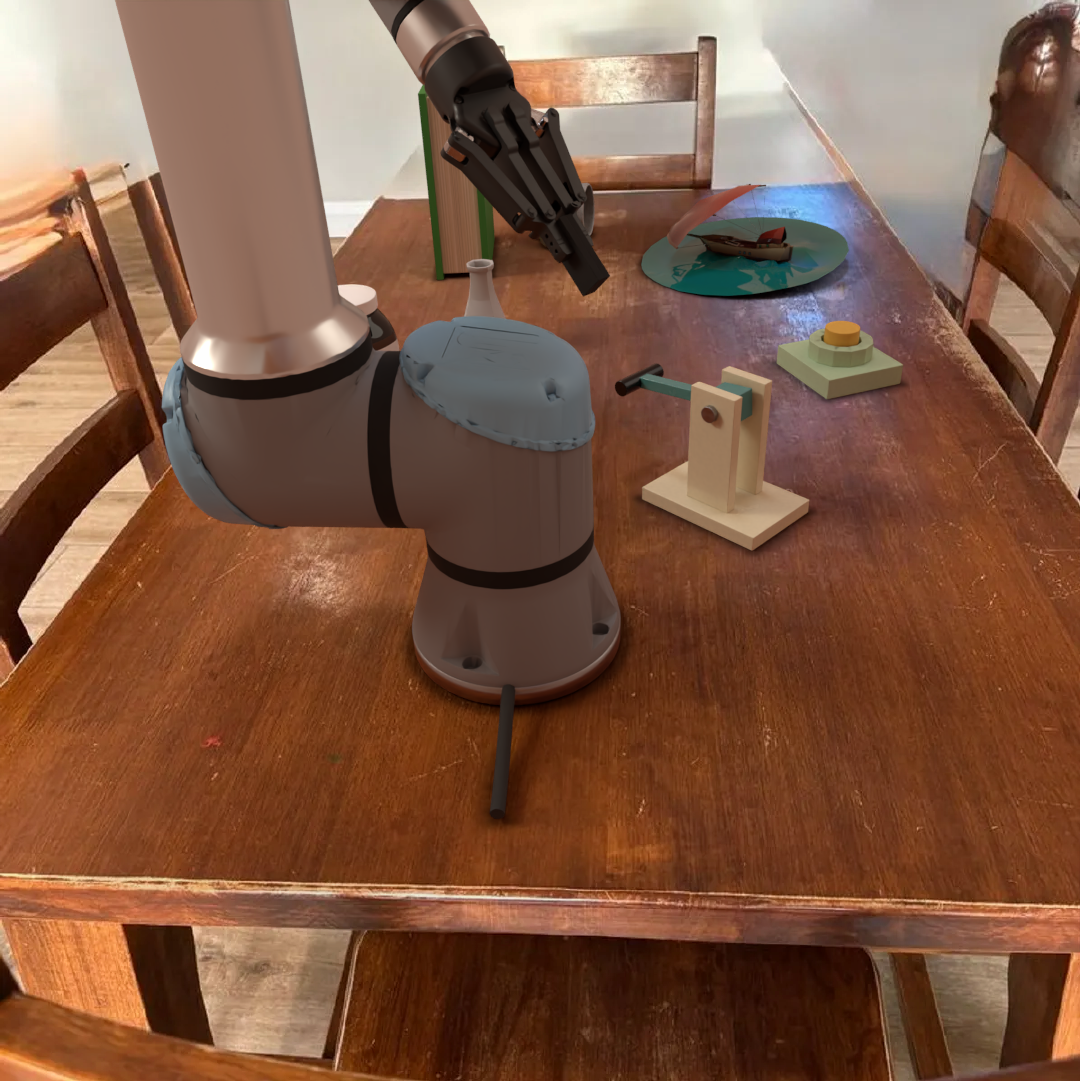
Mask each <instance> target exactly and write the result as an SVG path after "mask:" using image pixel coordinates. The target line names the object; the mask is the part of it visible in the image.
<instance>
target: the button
mask: <svg viewBox="0 0 1080 1081" xmlns="http://www.w3.org/2000/svg"><path fill="white" fill-rule="evenodd" d="M824 328H825V333H824V341H823V342H825V343H826V344H828V345H832V346H836V347H850V346H855V345H858V343H859V336H860V331H861V326H860V325H859V324H857V323H855V322H852V321H849V320H834V321H830V322H828V323H826V324H825V326H824Z"/></svg>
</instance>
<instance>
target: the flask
mask: <svg viewBox="0 0 1080 1081" xmlns="http://www.w3.org/2000/svg"><path fill="white" fill-rule="evenodd" d="M466 265H467V270H468V272H467V273H469V290H468V297H467V301H466V302H467V303H466V305H465V310H464V315H463V317H465V316H485V317H496V318H504V319H507V317H506V315H505V312H504V310H503V308H502V306H501V303H500V301H499V298H498V296H497V293H496V290H495V286H494V283H493V270H494V267H495V265H494V260H493V259H492V260H487V259H476V260H471V261H470V262H468V263H466Z"/></svg>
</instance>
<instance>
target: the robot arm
mask: <svg viewBox="0 0 1080 1081" xmlns="http://www.w3.org/2000/svg"><path fill="white" fill-rule="evenodd" d="M114 2H115V6H116V10H117V13H118V18H119V21H120V25H121V30H122V32H123V36H124V37H123V38H124V41H125V44H126V49H127V52H128V56H129V60H130V63H131V67H132V70H133V75H134V78H135V83H136V86H137V90H138V94H139V98H140V101H141V104H142V105H141V106H142V109H143V114H144V117H145V121H146V125H147V129H148V132H149V137H150V141H151V144H152V146H153V152H154V155H155V159H156V163H157V166H158V171H159V175H160V178H161V182H162V186H163V190H164V194H165V198H166V201H167V205H168V209H169V212H170V216H171V220H172V225H173V229H174V232H175V236H176V240H177V243H178V247H179V248H178V249H179V252H180V254H181V258H182V263H183V266H184V270H185V275H186V278H187V282H188V286H189V289H190V293H191V297H192V301H193V305H194V308H195V312H196V319H195V320H194V322H193V323H192V324H191V326H189V329H188V330H187V331H186V332H185V334H184V335H183V337H182V338H181V340H180V344H179V353H180V357H179V358H178V359H177V360H176V361H175V363H174V364H173V365H172V366H171V368H170V370H169V371H168V374H167V376H166V379H165V381H164V386H163V390H162V396H161V398H162V399H161V409H162V411H163V412H164V414H165V416H166V421H165V423H163V424H162V434H163V439H164V440H163V441H164V445H165V448H166V453H167V456H168V459H169V462H170V465H171V467H172V470H173V473H174V476H176V479H177V481H178V483H179V484H180V486H181V488H182V489H183V491H184V493H185V494H186V496H187V497H188V499H189V500H190V501H191V502H192V503H193V504H194V505H195V506H196V507H197V508H198V509H199V510H200V511H202V512H203V513H204V514H205V515H207V516H208V517H210V518H212V519H215V520H217V521H220V522H222V523H226V524H231V525H245V526H246V525H248V526H255V527H257V528H265V529H266V528H267V529H269V530H283V529H287V528H291V527H292V528H294V527H295V528H354V529H355V528H357V529H358V528H360V529H361V528H363V529H365V528H366V529H367V528H368V529H413V530H414V529H418V530H419V529H420V530H423V532H424V535H425V536H424V537H425V542H426V550H427V551H426V552H427V559H426V563H425V567H424V571H423V575H422V579H421V582H420V586H419V591H418V595H417V599H416V602H415V606H414V610H413V616H412V623H411V625H412V626H411V634H412V640H413V646H414V647H413V648H414V653H415V656H416V661H417V662H418V664H419V666H420V668H421V669H422V670H423V672H424V673H425V674H426V675H427V677H428V678H429V679H430V680H432V682H433V683H435V684H436V685H437V686H439V687H440V688H442V689H443V690H445V691H446V692H449V693H450V694H453V695H455V696H457V697H460V698H462V699H463V698H464V699H466V700H469V701H471V702H476V703H481V704H482V703H483V704H486V705H487V704H489V705H496V706H499V715H498V716H499V717H498V728H497V738H496V751H495V761H494V772H493V782H492V789H491V799H490V806H489V816H490V818H493V819H495V820H501V819H504V818H505V815H506V809H507V808H506V807H507V798H508V790H509V789H508V788H509V778H510V777H509V775H510V767H511V766H510V764H511V752H512V739H513V726H514V713H515V712H514V711H515V706H523V705H533V704H534V705H535V704H539V703H544V702H548V701H553V700H556V699H559V698H562V697H565V696H567V695H570V694H572V693H574V692H577V691H578V690H580V689H583V688H584V687H586V686H587V685H588V684H591V683H592V682H593V681H594V680H596V679H597V678H598V677H600V675H601V674H603V673H604V672H605V671H606V670H607V668H609V666H610V664H611V663H612V662H613V661H614V659H615V657H616V656H617V654H618V653H617V652H618V650H619V647H620V643H621V631H622V630H621V629H622V625H621V623H622V622H621V618H622V617H621V610H620V606H619V603H618V598H617V596H616V594H615V592H614V591H615V590H614V589H613V586H612V584H611V581H610V579H609V577H608V574H607V572H606V570H605V567H604V565H603V562H602V560H601V557H600V555H599V552H598V550H597V547H596V545H595V516H594V482H593V478H594V477H593V446H592V438H593V437H594V433H595V429H596V415H595V413H594V411H593V409H592V398H591V397H592V396H591V394H592V393H591V382H590V374H589V370H588V367H587V364H586V362H585V361H584V359H583V357H582V356H581V354H580V353H579V351H577V349H576V348H575V347H574V346H573V345H572V344H571V343H569V342H568V341H566V340H565V339H563V338H562V337H559V336H557V335H556V334H555V333H554V332H552V331H550V330H548V329H545V328H544V327H540V326H537V325H534V324H532V323H527V322H525V321H521V320H515V319H511V318H506V319H504V318H496V317H485V316H465V317H464V316H455V317H453V318H452V319H451V320H450V321H445V320H441V319H440V320H435V321H431V322H429V323H425V324H423V325H421V326H419V327H417V328H415V330H413V331H412V332H411V333H410V334H409V335H408V336H407V337H406V339H405V340H404V343H403V345H402V347H401V350H399V351H375V350H374V348H373V345H372V339H371V332H370V326H369V322H368V319H367V316H366V315H365V313H364V312H363V311H362V310H361V309H360V308H358V307H357V306H355V305H354V304H352V303H351V302H349V301H348V300H346V299H345V298H343V297H342V296H341V295H340V294H339V290H338V279H337V273H336V268H335V261H334V255H333V249H332V245H331V244H332V243H331V239H330V233H329V226H328V220H327V215H326V208H325V202H324V198H323V192H322V186H321V179H320V174H319V168H318V163H317V156H316V151H315V150H316V149H315V145H314V144H315V143H314V138H313V134H312V127H311V121H310V116H309V110H308V104H307V98H306V92H305V86H304V80H303V74H302V69H301V63H300V57H299V53H298V45H297V40H296V35H295V29H294V28H295V27H294V21H293V17H292V16H293V15H292V9H291V4H290V0H114ZM368 2H369V3H370V5H371V6H372V8H373V10H374V11H375V13H376V14H377V16H378V17H379V19H380V20H381V22H382V24H383V25H384V26H385V28H386V29H387V31H388V32H389V34H390V36H391V37H392V39H393V41H394V43H395V45H396V47H397V49H398V50H399V52H400V53H401V54H402V57H403V58H404V59H405V61H406V63H407V65H408V66H409V68H410V69H411V71H412V72H413V74H414V75H415V77H416V79H417V81H418V82H419V83H420V84H421V85H424V88H425V92H426V94H427V95H428V97H429V99H430V100H431V102H432V103H433V105H434V107H435V108H436V110H437V112H438V113H439V115H440V116H441V118H442V119H443V121H445V122H446V123H448V124H450V129H451V131H452V133H451V135H450V136H449V138H448V140H447V141H446V143H445V145H444V146H443V148H442V150H441V152H440V154H441V156H442V158H443V159H444V160H446V161H447V162H449V163H450V164H452V165H453V166H455V167H456V168H458V169H459V170H461V171H462V173H463V174H464V175H465V176H466V177H467V178H468V179H469V180H470V181H471V183H472V184H473V185H474V186H475V187H476V188H477V189H478V190H479V192H480V193H481V194H482V195H483V196H484V197H485V198H486V199H487V200H488V202H489V203H490V204H491V205H492V206H493V209H495V211H496V212H497V213H498V214H499V216H501V217H502V218H503V220H504V221H505V222H506V223H507V224H508V226H510V227H511V229H512V231H514V232H515V233H517V234H519V235H523V234H524V233H525V232H530V233H529V235H528V237H529V239H531V240H533V241H538V240H540V239H539V237H541V238H542V240H543V241H544V243H545V244H546V246H547V247H546V246H545V247H546V248H547V250H548V251H549V253H550V254H551V256H552V257H553V259H554V260H555V261H556V262H557V263H558V264H562V266H564V269H565V270H566V271H567V273H568V275H569V277H570V278H571V280H572V281H573V283H574V284H575V286H576V288H577V289H578V291H579V292H580V295H581V296H582V297H586V296H588V295H591V294H594V293H596V292H597V291H598V289H600V288H601V286H602V285H603V284H604V283H605V282H606V281H607V280H608V279H609V278H610V277H611V275H610V273H609V271H608V270H607V268H606V267H605V265H604V263H603V262H602V260H601V259H600V257H599V256H598V254H597V252H596V250H595V249H594V247H593V246H594V240H593V238H592V237H591V235H589V234H588V232H587V231H586V229H585V227H584V226H583V224H582V222H581V221H580V219H579V217H578V215H577V211H578V210H579V208H580V207H581V206H582V205H583V203H584V202H585V201H586V200H587V196H586V193H585V191H584V188H583V186H582V183H583V182H582V180H581V179H580V176H579V173H578V170H577V168H576V166H575V164H574V161H573V159H572V156H571V153H570V151H569V149H568V146H567V144H566V141H565V138H564V135H563V134H562V131H561V120H560V113H559V111H558V110H557V108H554V107H548V109H547V110H546V111H545V112H542V111H540V110H537V109H534V108H532V106H531V103H530V101H529V100H528V99H527V98H526V97H524V96H523V94H521V93H520V92H519V91H518V89H517V88H516V84H515V83H516V82H515V75H514V69H513V68H512V66H511V65H510V63H509V61H508V60H507V57H506V56H505V55H504V53H503V52H502V50H501V49H500V47H499V45H498V44H497V42H496V41H495V39H493V38H491V33H490V31H489V29H488V27H487V26H486V24H485V22H484V20H483V19H482V18H481V16H480V14H479V13H478V12H477V10H476V9H475V7H474V5H473V4H472V2H471V1H470V0H368Z"/></svg>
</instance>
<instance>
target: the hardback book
mask: <svg viewBox="0 0 1080 1081" xmlns="http://www.w3.org/2000/svg"><path fill="white" fill-rule="evenodd" d="M417 98H418V99H417V101H418V109H419V110H418V111H419V118H420V130H421V137H422V148H423V158H424V167H425V168H424V169H425V177H426V178H425V179H426V186H427V188H426V189H427V197H428V206H429V216H430V226H431V235H432V236H431V237H432V245H433V246H432V247H433V256H434V265H435V277H436V281H442V280H445V276H446V274H461V273H463V274H464V273H469V272H468V270H467V265H466V263H468V262H470V261H471V260H476V259H487V260H493V257H494V249H495V241H496V240H495V238H496V235H495V220H494V207H493V206H492V205H491V204H490V203H489V202H488V200H487V199H486V198H485V197H484V196H483V195H482V194H481V193H480V192H479V190H478V189H477V188H476V187H475V186H474V185H473V184H472V183H471V181H470V180H469V179H468V178H467V177H466V176H465V175H464V174H463V173H462V171H461V170H459V169H458V168H456V167H455V166H453V165H452V164H450V163H449V162H447V161H446V160H444V159H443V158H442V156H441V154H440V152H441V150H442V148H443V146H444V145H445V143H446V141H447V140H448V138H449V136H450V135H451V133H452V131H451V129H450V124H448V123H446V122H445V121H443V119H442V118H441V116H440V115H439V113H438V112H437V110H436V108H435V107H434V105H433V103H432V102H431V100H430V99H429V97H428V95H427V94H426V92H425V88H424V85H423V84H421V87H420V88H419V91H418V93H417Z"/></svg>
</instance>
